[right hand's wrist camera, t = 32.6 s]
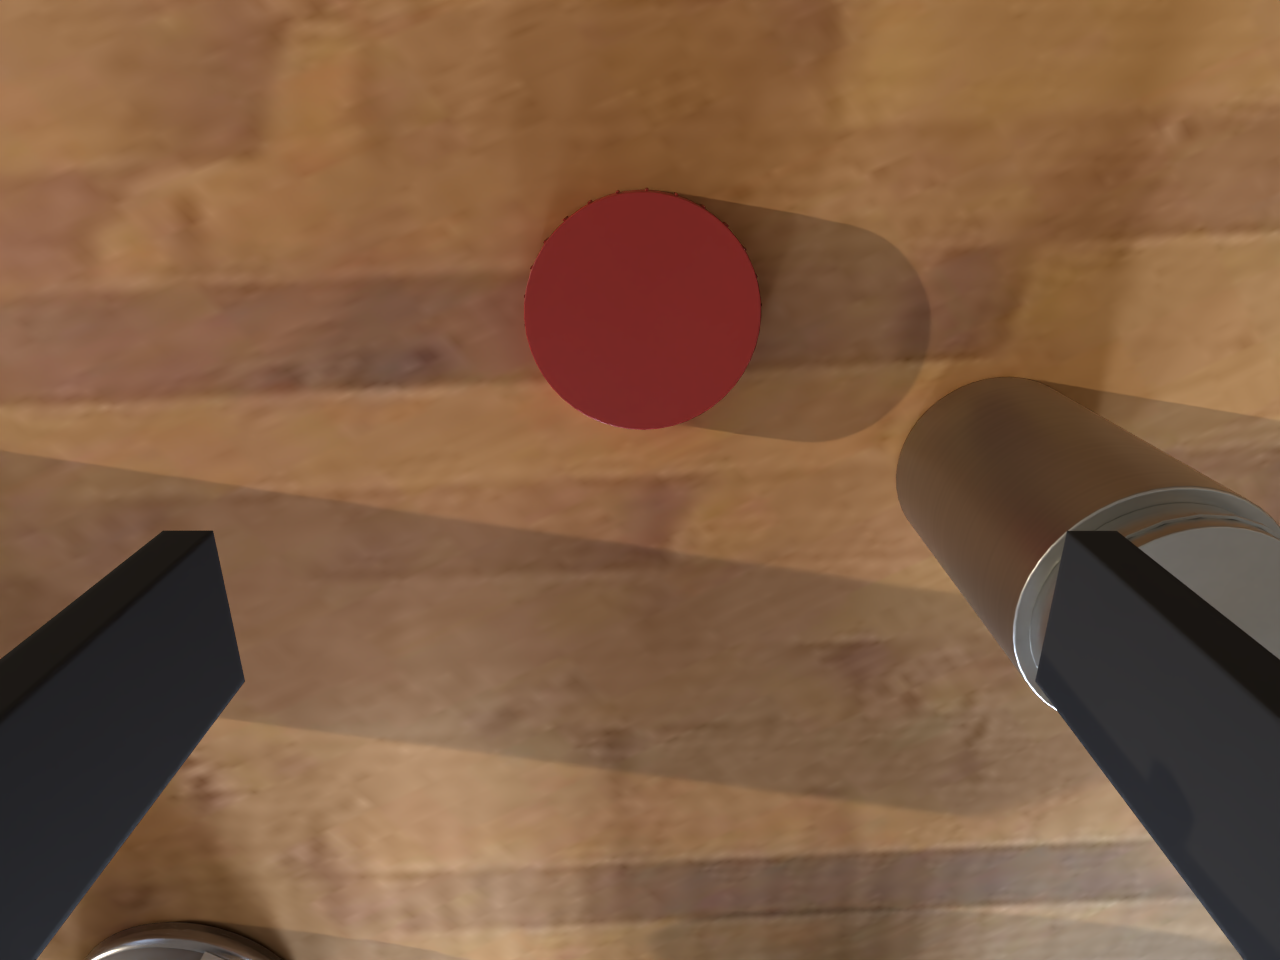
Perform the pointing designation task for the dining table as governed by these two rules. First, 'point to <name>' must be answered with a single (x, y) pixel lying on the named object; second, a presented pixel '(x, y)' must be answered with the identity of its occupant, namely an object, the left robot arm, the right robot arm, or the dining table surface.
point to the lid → (642, 309)
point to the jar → (1071, 511)
